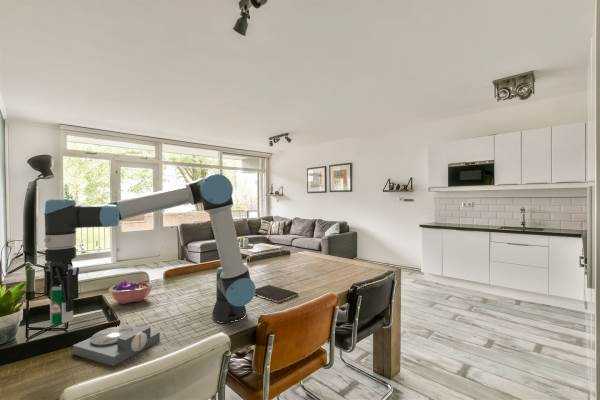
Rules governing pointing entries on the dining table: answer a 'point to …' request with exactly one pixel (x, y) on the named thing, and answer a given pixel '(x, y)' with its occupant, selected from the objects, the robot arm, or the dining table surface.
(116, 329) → the scale pan
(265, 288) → the hardcover book
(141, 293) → the cell model
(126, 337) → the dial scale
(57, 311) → the soda can
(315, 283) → the dining table surface
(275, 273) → the dining table surface
